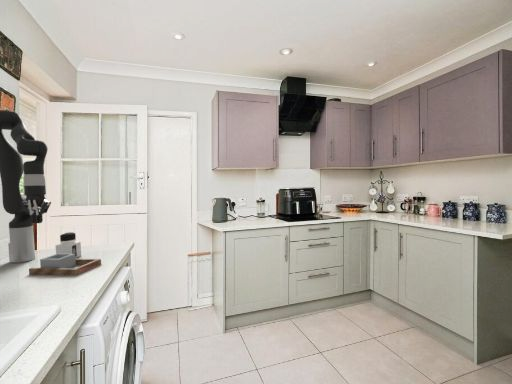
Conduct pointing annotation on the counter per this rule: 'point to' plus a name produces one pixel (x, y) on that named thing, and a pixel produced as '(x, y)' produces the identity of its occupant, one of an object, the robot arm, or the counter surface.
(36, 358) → the counter surface
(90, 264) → the bay
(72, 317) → the counter surface
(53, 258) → the box
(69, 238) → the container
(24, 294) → the counter surface
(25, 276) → the counter surface
